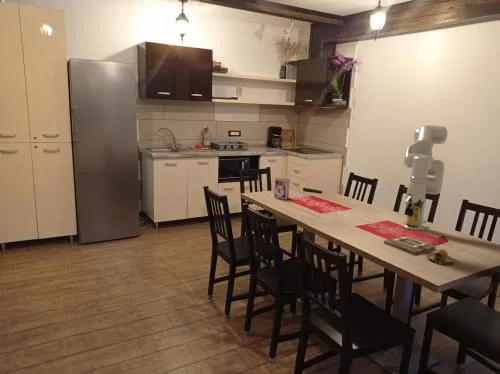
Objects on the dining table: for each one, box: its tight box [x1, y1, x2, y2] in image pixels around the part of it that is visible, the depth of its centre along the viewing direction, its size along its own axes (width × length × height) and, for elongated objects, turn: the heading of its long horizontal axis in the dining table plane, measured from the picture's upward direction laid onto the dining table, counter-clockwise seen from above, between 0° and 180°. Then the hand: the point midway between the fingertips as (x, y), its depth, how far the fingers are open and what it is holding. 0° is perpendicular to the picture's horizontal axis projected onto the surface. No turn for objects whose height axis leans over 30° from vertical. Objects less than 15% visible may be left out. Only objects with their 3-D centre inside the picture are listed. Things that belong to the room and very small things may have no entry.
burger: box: [426, 248, 454, 266], centre depth 183 cm, size 12×12×8 cm
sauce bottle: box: [405, 192, 422, 228], centre depth 196 cm, size 6×6×20 cm
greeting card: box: [273, 177, 291, 200], centre depth 291 cm, size 11×7×15 cm, turn 53°
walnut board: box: [383, 235, 436, 256], centre depth 200 cm, size 18×18×2 cm
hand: (413, 214), depth 196 cm, fingers closed on sauce bottle, 6 cm apart
